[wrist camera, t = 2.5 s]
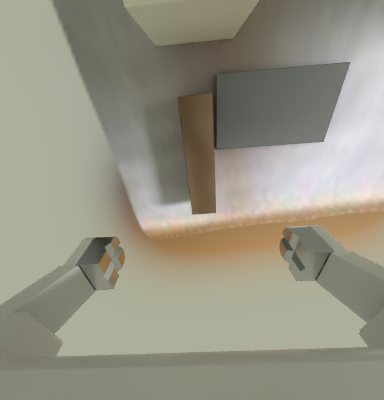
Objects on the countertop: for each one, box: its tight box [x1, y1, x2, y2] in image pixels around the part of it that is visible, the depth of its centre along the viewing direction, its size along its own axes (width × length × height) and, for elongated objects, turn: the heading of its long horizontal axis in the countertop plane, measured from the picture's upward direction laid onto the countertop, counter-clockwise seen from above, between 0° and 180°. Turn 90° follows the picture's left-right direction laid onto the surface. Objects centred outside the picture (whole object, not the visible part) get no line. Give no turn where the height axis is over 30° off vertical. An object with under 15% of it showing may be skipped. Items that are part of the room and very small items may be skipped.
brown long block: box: [178, 93, 216, 215], centre depth 19 cm, size 3×12×4 cm, turn 6°
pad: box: [216, 62, 350, 149], centre depth 17 cm, size 12×7×1 cm, turn 94°
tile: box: [123, 0, 260, 46], centre depth 11 cm, size 7×2×8 cm, turn 94°
